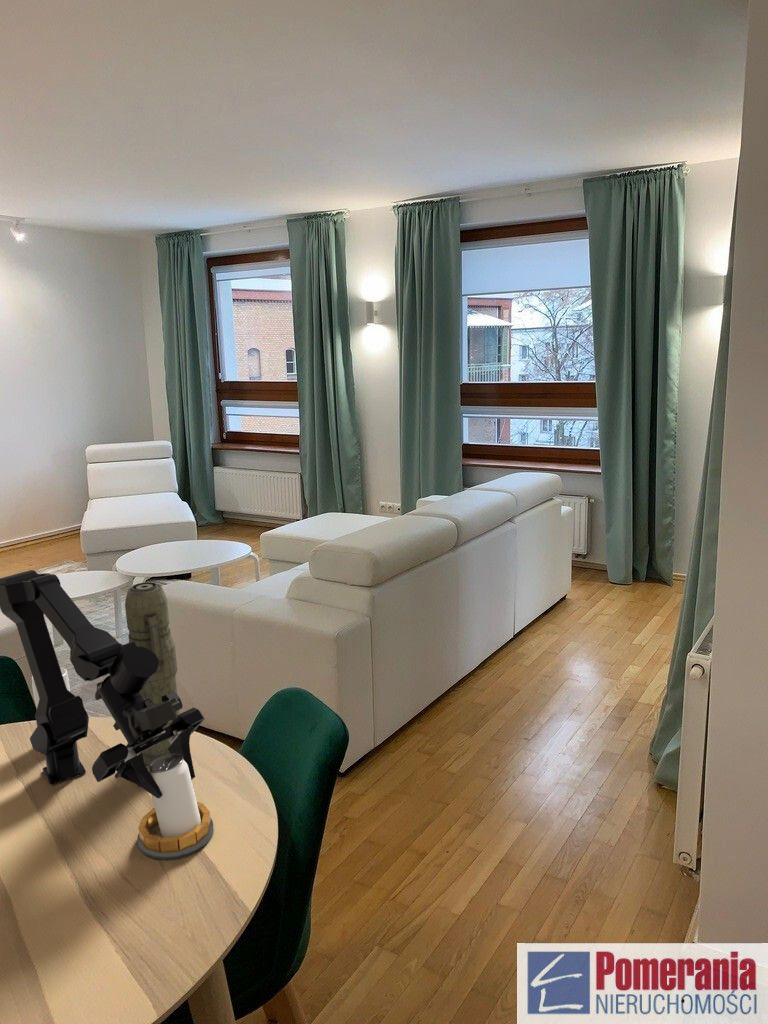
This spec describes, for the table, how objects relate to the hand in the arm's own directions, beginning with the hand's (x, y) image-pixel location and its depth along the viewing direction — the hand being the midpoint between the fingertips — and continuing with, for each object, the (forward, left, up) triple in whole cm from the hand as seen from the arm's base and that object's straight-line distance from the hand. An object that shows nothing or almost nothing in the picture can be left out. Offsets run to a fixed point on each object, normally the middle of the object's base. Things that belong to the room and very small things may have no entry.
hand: (177, 787), depth 124 cm
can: (-1, 0, -8) cm, 8 cm away
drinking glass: (-47, -8, -10) cm, 48 cm away
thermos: (-28, +7, -10) cm, 30 cm away
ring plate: (-2, 0, -10) cm, 10 cm away
